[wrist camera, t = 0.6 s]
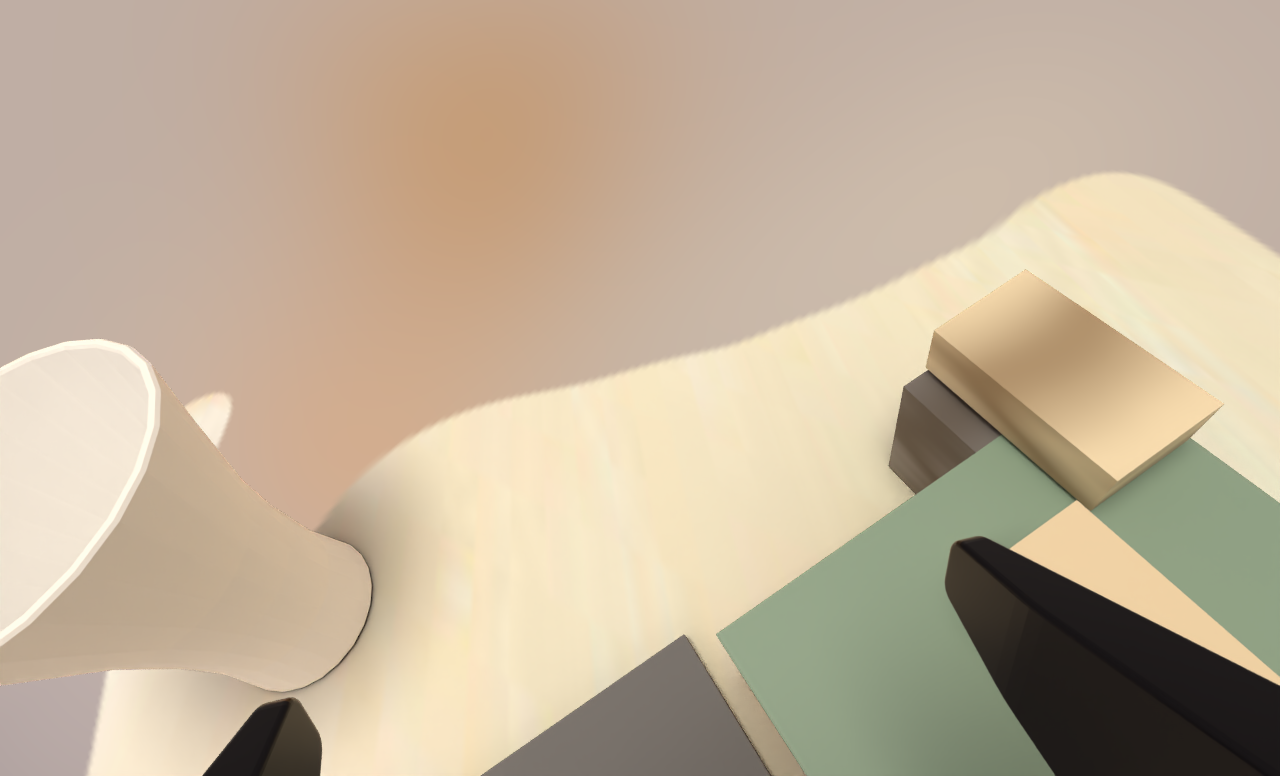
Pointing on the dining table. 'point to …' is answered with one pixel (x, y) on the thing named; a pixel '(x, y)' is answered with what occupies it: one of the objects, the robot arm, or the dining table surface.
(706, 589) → the dining table surface
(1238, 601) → the lid
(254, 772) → the robot arm
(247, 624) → the cup
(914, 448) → the toolbox
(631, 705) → the mat
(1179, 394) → the wooden block
